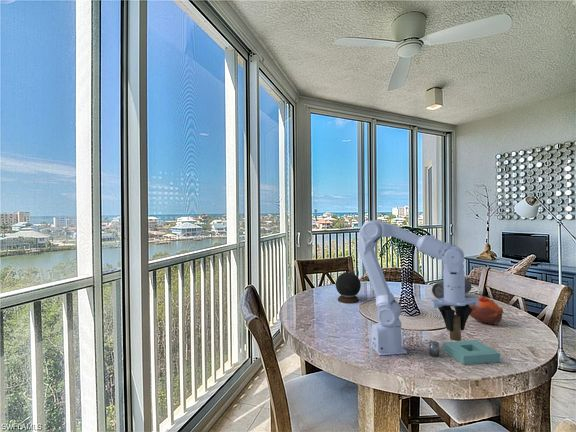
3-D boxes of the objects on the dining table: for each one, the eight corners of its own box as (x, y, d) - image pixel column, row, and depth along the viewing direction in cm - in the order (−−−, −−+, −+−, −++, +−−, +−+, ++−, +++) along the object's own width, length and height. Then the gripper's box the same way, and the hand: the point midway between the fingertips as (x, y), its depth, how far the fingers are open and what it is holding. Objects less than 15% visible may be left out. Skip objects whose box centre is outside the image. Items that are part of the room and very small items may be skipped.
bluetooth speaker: (455, 293, 171) (455, 275, 171) (472, 296, 163) (472, 278, 163) (430, 299, 160) (430, 280, 160) (447, 303, 152) (447, 283, 152)
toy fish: (466, 323, 125) (465, 295, 125) (472, 316, 132) (471, 290, 132) (501, 330, 116) (500, 300, 116) (505, 322, 124) (505, 295, 124)
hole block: (463, 364, 91) (463, 356, 91) (443, 349, 101) (442, 342, 101) (500, 361, 92) (499, 353, 92) (476, 347, 102) (476, 340, 102)
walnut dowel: (453, 341, 91) (453, 317, 91) (447, 337, 94) (447, 314, 94) (463, 340, 91) (462, 317, 91) (456, 336, 94) (456, 314, 94)
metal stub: (432, 357, 96) (432, 345, 96) (427, 353, 99) (427, 341, 99) (441, 357, 96) (441, 344, 96) (435, 352, 99) (435, 340, 99)
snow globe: (363, 303, 155) (363, 274, 155) (337, 304, 155) (337, 275, 155) (358, 296, 168) (357, 269, 168) (334, 297, 168) (333, 270, 168)
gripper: (439, 289, 88) (440, 336, 88) (485, 287, 89) (486, 333, 89) (425, 284, 95) (427, 327, 95) (469, 282, 96) (470, 324, 96)
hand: (455, 329), depth 93 cm, fingers closed on walnut dowel, 3 cm apart
